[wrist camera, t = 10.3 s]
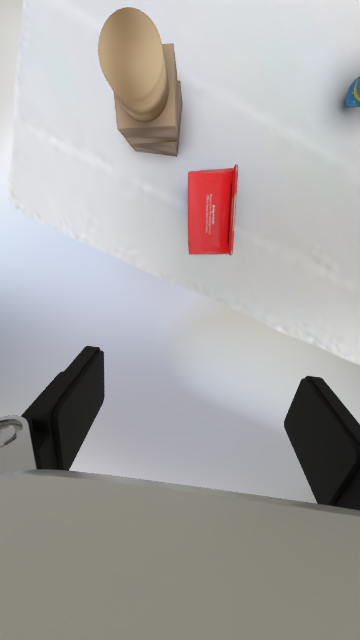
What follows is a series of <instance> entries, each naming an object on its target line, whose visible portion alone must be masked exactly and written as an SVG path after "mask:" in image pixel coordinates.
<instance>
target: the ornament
mask: <svg viewBox="0 0 360 640" xmlns="http://www.w3.org/2000/svg"><path fill="white" fill-rule="evenodd" d="M345 106H346V107H360V77H358V78H357V79H356V80H355V81H354V82H353V83H352V85H351V87H350V89H349V91H348V94H347V98H346V101H345Z"/></svg>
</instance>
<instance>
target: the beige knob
mask: <svg viewBox="0 0 360 640" xmlns="http://www.w3.org/2000/svg"><path fill="white" fill-rule="evenodd" d="M98 55H99V62H100V66H101V69H102V72H103V74H104V76H105V78H106V80H107V81H108V83H109V85H110V87H111V88H112V90H113V92H114V93H115V95H116V97H117V98H118V100H119V102H120V103H121V105H122V107H123V108H124V110H125V111H126V113H127V114H128V115H129V116H130V117H131V118H133V119H135V120H137V121H140V122H149V121H152V120H154V119H156V118H157V117H158V116H159V115H160V114H161V113H162V112H163V110H164V108H165V106H166V104H167V100H168V95H169V84H168V78H167V73H166V67H165V61H164V55H163V49H162V43H161V39H160V35H159V33H158V30H157V28H156V26H155V24H154V23H153V22H152V20H151V19H150V18H149V17H148V16H147V15H146V14H145V13H144V12H142V11H140V10H138V9H136V8H129V7H127V8H122V9H119V10H117V11H115V12H114V13H113V14H111V15H110V17H109V18H108V19H107V20H106V22H105V23H104V26H103V28H102V30H101V33H100V37H99V44H98Z"/></svg>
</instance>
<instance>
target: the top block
mask: <svg viewBox="0 0 360 640" xmlns="http://www.w3.org/2000/svg"><path fill="white" fill-rule="evenodd" d="M162 49H163V55H164V61H165V67H166V73H167V78H168V84H169V95H168V100H167V104H166V106H165V108H164V110H163V112H162V113H161V114H160V115H159V116H158V117H157V118H156V119H154V120H152V121H149V122H140V121H137V120H135V119H133V118H131V117H130V116H129V115H128V114H127V113H126V111H125V110H124V108H123V107H122V105H121V103H120V102H119V100H118V98H117V97H116V95H115V93H114V100H115V110H116V119H117V129H118V130H119V131H120V132H121V134H122V135H123V136H124V137H125V138H126V140H127V141H128V142H129V143H130V144H138V143H159V142H178V93H177V70H176V62H175V53H174V45H173V43H172V44H162Z"/></svg>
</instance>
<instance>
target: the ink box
mask: <svg viewBox="0 0 360 640" xmlns="http://www.w3.org/2000/svg"><path fill="white" fill-rule="evenodd" d="M237 178H238V165H235V167H234V168H230V169H216V170H203V171H191V172H189V173H188V246H189V254H229V255H230V256H231V255H232V253H233V239H234V223H235V208H236V193H237Z"/></svg>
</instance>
